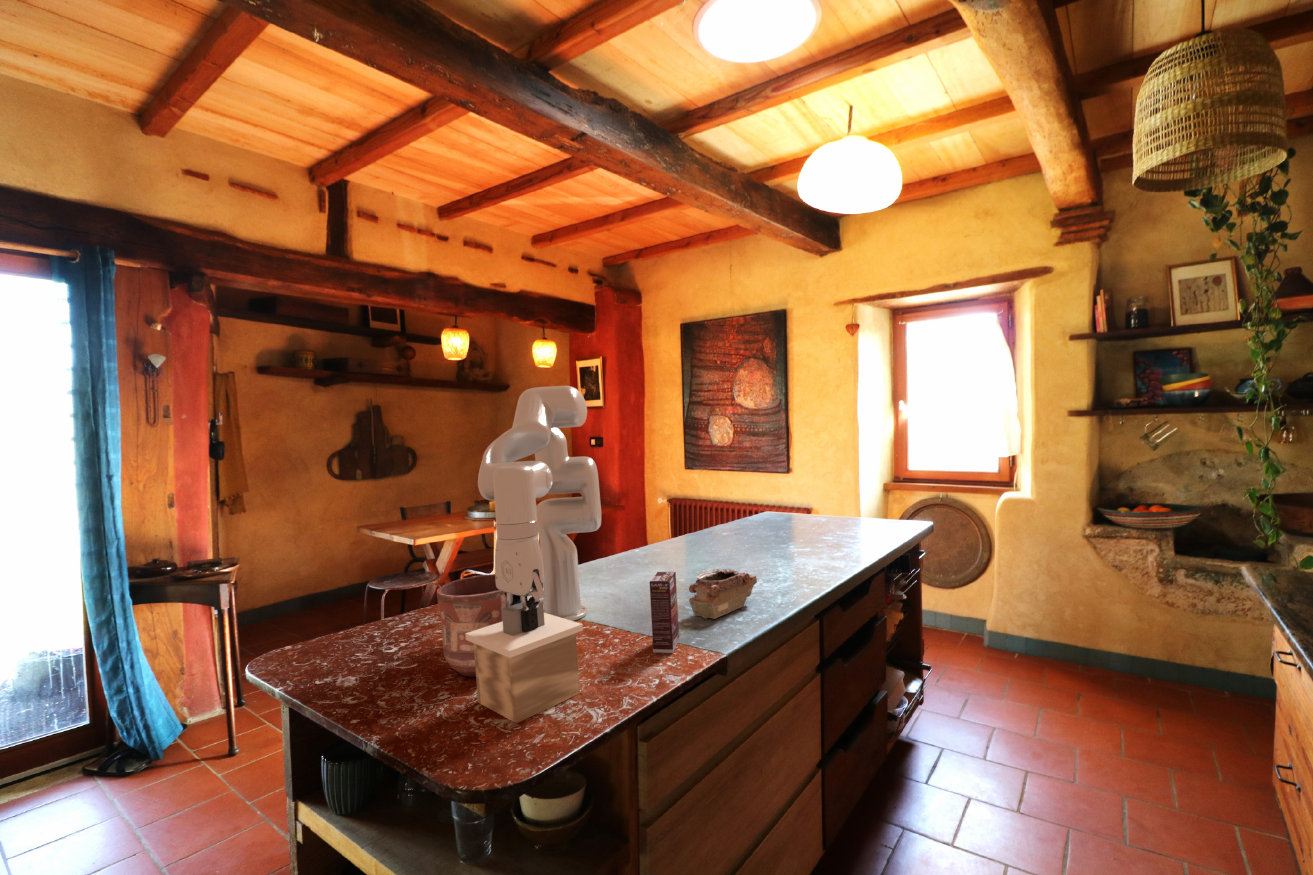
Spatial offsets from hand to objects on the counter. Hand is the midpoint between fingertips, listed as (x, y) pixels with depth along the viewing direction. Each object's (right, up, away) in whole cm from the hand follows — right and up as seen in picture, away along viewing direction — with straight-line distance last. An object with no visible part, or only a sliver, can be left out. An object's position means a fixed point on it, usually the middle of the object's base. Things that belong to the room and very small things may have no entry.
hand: (524, 626), depth 113 cm
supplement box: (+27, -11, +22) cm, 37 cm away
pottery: (-12, -14, +17) cm, 25 cm away
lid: (0, -2, 0) cm, 2 cm away
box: (+1, -14, 0) cm, 14 cm away
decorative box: (+42, -10, +46) cm, 63 cm away
